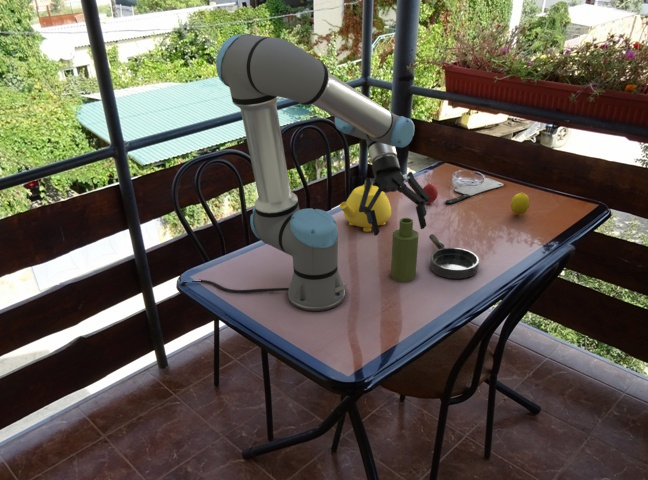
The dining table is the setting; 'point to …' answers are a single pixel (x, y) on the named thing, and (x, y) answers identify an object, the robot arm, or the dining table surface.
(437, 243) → the pan handle
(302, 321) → the dining table surface
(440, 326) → the dining table surface
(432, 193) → the onion
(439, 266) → the pan
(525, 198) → the lemon
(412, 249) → the oil bottle
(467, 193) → the cleaver
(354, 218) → the teapot
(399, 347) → the dining table surface
